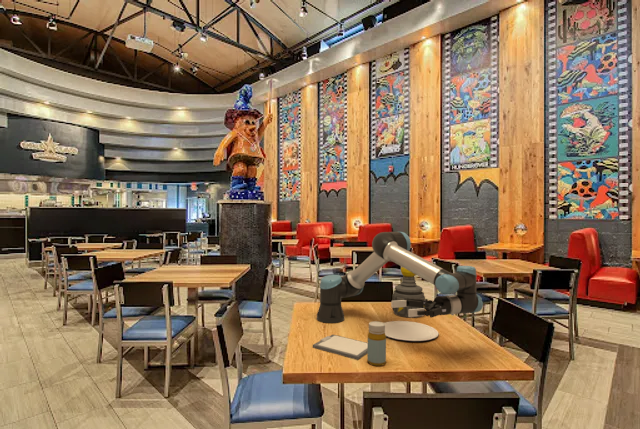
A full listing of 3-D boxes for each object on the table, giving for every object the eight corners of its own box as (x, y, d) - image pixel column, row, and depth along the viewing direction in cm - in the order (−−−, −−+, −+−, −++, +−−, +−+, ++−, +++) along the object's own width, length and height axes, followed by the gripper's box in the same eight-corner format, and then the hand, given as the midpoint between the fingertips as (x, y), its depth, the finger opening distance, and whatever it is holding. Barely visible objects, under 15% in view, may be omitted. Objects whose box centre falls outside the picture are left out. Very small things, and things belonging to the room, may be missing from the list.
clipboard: (312, 347, 147) (312, 342, 147) (332, 336, 161) (332, 332, 161) (358, 360, 135) (358, 354, 135) (375, 347, 148) (375, 342, 148)
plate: (388, 320, 188) (388, 317, 188) (444, 330, 173) (444, 326, 173) (367, 336, 163) (367, 332, 163) (430, 348, 148) (430, 344, 148)
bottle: (365, 359, 136) (365, 321, 136) (383, 358, 136) (383, 320, 137) (369, 366, 129) (370, 326, 129) (388, 366, 129) (388, 326, 130)
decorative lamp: (402, 307, 214) (402, 259, 214) (431, 313, 201) (431, 262, 201) (385, 313, 201) (386, 262, 201) (415, 320, 187) (415, 265, 188)
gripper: (467, 323, 129) (417, 327, 123) (429, 306, 153) (385, 309, 147) (467, 303, 129) (417, 307, 124) (429, 289, 153) (385, 292, 148)
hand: (399, 308), depth 135 cm, fingers open, 13 cm apart
